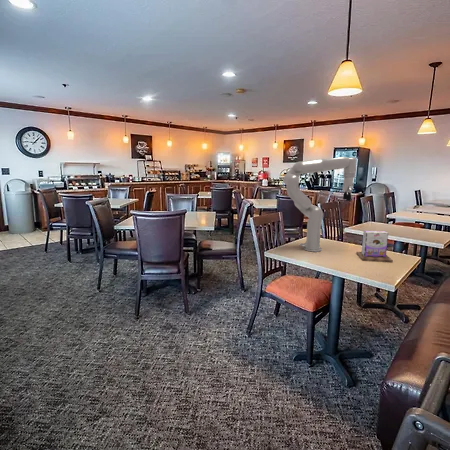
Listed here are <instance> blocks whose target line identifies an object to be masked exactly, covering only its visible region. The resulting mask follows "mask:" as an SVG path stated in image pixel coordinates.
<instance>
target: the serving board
mask: <svg viewBox="0 0 450 450" xmlns="http://www.w3.org/2000/svg"><path fill="white" fill-rule="evenodd" d="M361 253H362V251H356V253H355V254H356V255H357V256H358V258H359V259H360V260H361V261H362V262H363V261H364V262H378V263H381V262H382V263H393V259H392V258H391V257H390V256H388V255H387V254H386V257H369V256H363V255H362V254H361Z"/></svg>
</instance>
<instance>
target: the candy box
mask: <svg viewBox="0 0 450 450" xmlns="http://www.w3.org/2000/svg"><path fill="white" fill-rule="evenodd" d="M388 239H389V232H387V231H385V230H382V231H381V230H363V237H362V244H361V252H362V253H361V254H362V255H363V256H369V257H386V255H387V250H388Z"/></svg>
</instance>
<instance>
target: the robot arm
mask: <svg viewBox="0 0 450 450" xmlns="http://www.w3.org/2000/svg"><path fill="white" fill-rule="evenodd" d="M356 167H357V159H356V157H346V156H340V157H339V156H338V157H335V158H318V159H310V160H303V161H302V160H301V161H296V162H295V163H294V165H293V166H292V167H290V169H289V170H288V171H287V172H286V174H285V175H284V177H283V179H282V180H283V181H282V182H283V183H284V185H285V186H286V193H287V195H288V197H289V198H290V199H291V200H292V201H293V204H294V206H295V207H296V208H297V209H298V210H299V211H300V212H301V214H303V215H304V216H305V217H307V218H308V220H307V223H306V240H305V242H304V243H301V242H300V243H299V247H303V250H305V251H306V252H317V253H318V252H321V251H322V247H320V245H321V244H320V243H321V231H322V230H321V228H322V221H323V217H324V212H323V209H321V208H320V207H319V206H316V205H313V204H312V201H311V199H310V198H309V197H308V196H307V195H306V194H305V193H304V192H303V191H302V190H301V189H300V188H299V183H300V178H299V177H300V176H301V175H303V174H310V173H311V174H312V173H319V172H326V171H332V170H333V171H334V170H340V169H343V174H342V175H343V176H342V178H343V183H342V192H343V198H342V199H343V200H345V201H347V202H351V201H352V192H353V186H354V179H355V178H356V175H355V174H356Z"/></svg>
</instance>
